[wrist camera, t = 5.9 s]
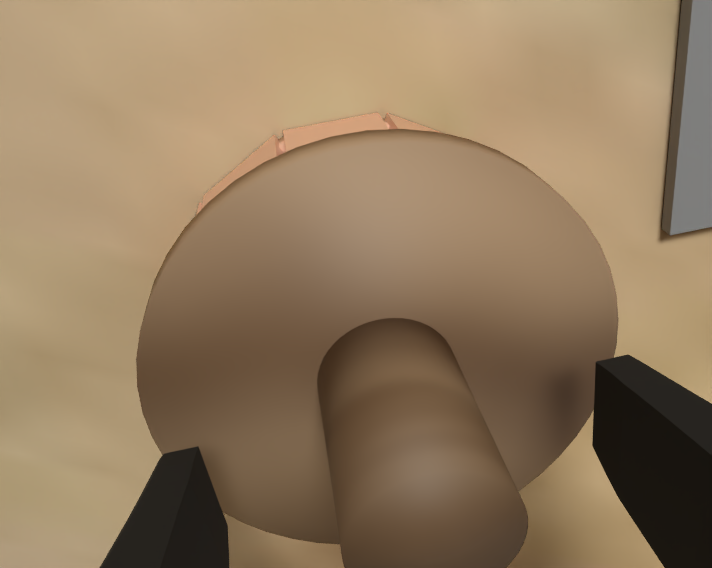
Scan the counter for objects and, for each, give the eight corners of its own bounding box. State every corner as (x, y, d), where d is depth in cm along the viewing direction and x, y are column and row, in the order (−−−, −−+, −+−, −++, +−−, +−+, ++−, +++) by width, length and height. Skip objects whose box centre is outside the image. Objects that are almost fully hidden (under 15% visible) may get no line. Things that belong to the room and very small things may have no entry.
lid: (577, 483, 17) (685, 671, 13) (193, 545, 16) (172, 769, 12) (628, 101, 12) (829, 200, 8) (84, 160, 11) (-14, 306, 7)
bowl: (530, 389, 19) (578, 468, 16) (231, 453, 19) (227, 545, 16) (523, 84, 15) (586, 123, 12) (132, 159, 14) (104, 217, 12)
